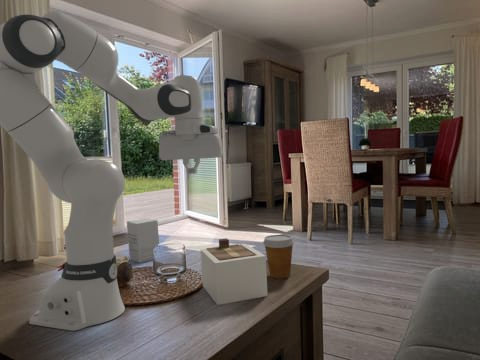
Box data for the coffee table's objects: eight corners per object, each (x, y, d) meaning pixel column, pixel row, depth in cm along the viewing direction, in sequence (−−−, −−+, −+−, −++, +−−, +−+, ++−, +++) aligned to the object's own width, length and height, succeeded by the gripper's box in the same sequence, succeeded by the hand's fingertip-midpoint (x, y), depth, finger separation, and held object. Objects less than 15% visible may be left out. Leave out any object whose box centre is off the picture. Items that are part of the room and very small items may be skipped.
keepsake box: (202, 286, 114) (200, 249, 113) (246, 278, 118) (245, 243, 118) (217, 305, 99) (215, 263, 98) (267, 295, 103) (265, 255, 103)
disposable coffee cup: (297, 279, 115) (295, 240, 114) (265, 281, 115) (263, 241, 115) (293, 270, 125) (291, 233, 124) (264, 271, 125) (262, 235, 124)
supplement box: (150, 254, 155) (147, 217, 154) (160, 258, 148) (158, 219, 147) (128, 259, 149) (126, 221, 148) (139, 263, 143) (136, 223, 141)
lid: (206, 253, 115) (205, 240, 114) (238, 249, 118) (237, 236, 118) (219, 265, 102) (219, 250, 101) (254, 260, 105) (254, 246, 105)
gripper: (154, 131, 119) (157, 175, 120) (218, 126, 115) (220, 172, 116) (161, 132, 125) (164, 174, 126) (223, 128, 121) (225, 171, 122)
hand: (192, 173), depth 121 cm, fingers closed
